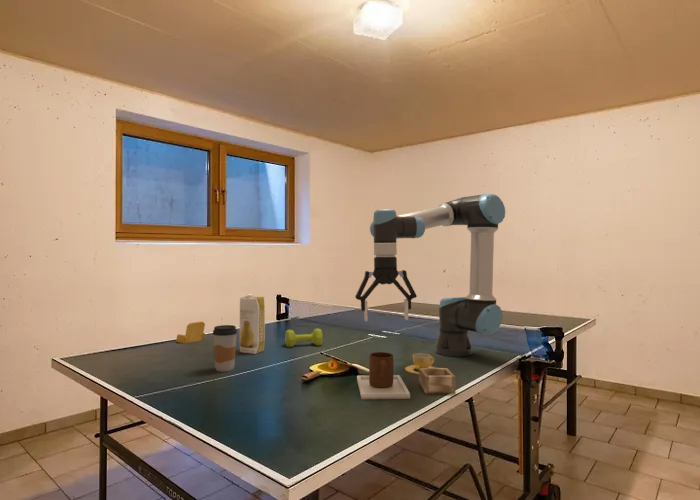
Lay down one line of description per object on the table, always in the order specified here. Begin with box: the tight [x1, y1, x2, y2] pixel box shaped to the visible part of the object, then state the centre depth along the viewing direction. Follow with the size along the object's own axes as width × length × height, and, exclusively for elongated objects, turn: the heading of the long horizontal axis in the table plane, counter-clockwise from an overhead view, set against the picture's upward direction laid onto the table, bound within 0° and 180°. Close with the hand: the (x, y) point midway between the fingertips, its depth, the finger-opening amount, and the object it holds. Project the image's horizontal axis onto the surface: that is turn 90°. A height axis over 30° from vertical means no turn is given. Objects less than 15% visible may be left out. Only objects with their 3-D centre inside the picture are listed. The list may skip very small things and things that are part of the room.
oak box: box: [418, 367, 456, 394], centre depth 132 cm, size 9×9×5 cm
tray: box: [356, 374, 411, 400], centre depth 131 cm, size 14×18×2 cm
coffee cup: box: [212, 324, 238, 373], centre depth 151 cm, size 8×8×15 cm
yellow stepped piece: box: [175, 321, 206, 344], centre depth 198 cm, size 10×10×9 cm
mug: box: [368, 351, 395, 388], centre depth 131 cm, size 12×8×9 cm, turn 1°
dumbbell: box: [284, 328, 324, 348], centre depth 190 cm, size 16×8×7 cm, turn 105°
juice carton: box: [239, 293, 266, 355], centre depth 178 cm, size 9×8×24 cm
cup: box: [404, 353, 437, 375], centre depth 152 cm, size 12×12×5 cm
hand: (386, 319), depth 142 cm, fingers open, 13 cm apart
